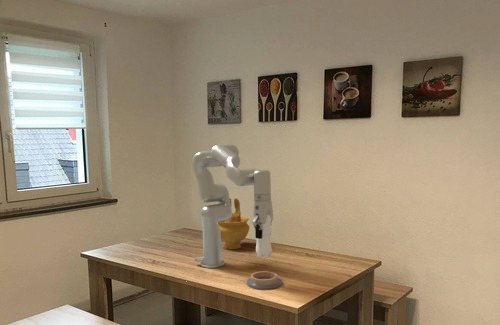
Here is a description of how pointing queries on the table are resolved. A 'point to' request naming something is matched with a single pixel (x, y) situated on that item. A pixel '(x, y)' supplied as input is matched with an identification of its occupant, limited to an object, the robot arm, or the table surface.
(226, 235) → the decorative bowl
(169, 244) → the table surface
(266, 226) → the water bottle
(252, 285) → the ring plate
